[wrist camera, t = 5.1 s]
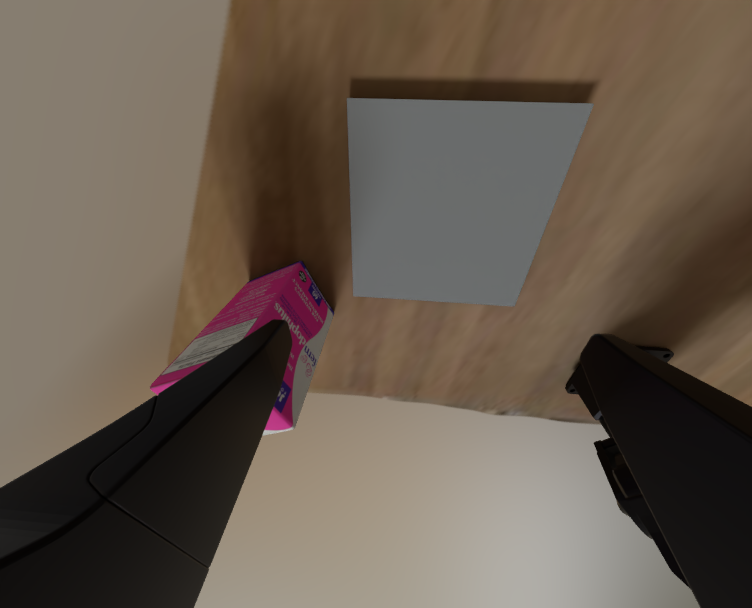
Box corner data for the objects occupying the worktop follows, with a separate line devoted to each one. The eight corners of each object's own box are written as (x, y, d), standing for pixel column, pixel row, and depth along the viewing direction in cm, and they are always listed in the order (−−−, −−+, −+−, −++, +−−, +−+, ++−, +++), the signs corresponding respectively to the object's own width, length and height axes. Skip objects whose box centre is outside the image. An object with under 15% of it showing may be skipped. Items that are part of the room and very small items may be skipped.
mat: (585, 104, 15) (594, 103, 14) (511, 300, 22) (514, 306, 21) (349, 98, 15) (346, 98, 15) (354, 290, 23) (353, 296, 22)
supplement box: (337, 311, 24) (297, 434, 15) (284, 328, 26) (218, 447, 17) (304, 257, 21) (227, 366, 12) (246, 279, 23) (140, 390, 14)
